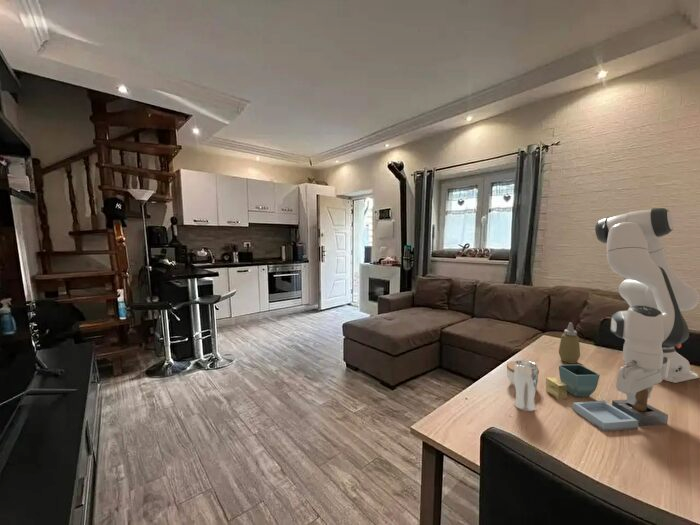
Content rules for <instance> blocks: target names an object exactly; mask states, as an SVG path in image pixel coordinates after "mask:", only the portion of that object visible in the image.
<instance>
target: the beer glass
mask: <svg viewBox="0 0 700 525" xmlns="http://www.w3.org/2000/svg"><path fill="white" fill-rule="evenodd" d="M514 361H515V367H514V382H515V387H514V388H515V398H514V399H515V400H514V406H515V407H516V408H517V409H519V410H521V411H523V412H534V411H535V410H536V406H535V395H536V390H537V388H538V387H537V386H538V382H539V374H538V369H539V368H538V364H537V363H536V362H532V361H530V360H525V359H517V360H514Z"/></svg>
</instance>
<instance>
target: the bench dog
mask: <svg viewBox="0 0 700 525" xmlns="http://www.w3.org/2000/svg"><path fill="white" fill-rule="evenodd" d="M545 391H546V392H547V393H549V394H550V395H552V397H554V398H556V399H557V400H563V399H567V385H566V384H564V383H563V382H561V380H560V379H557V378H556V377H553V376H551V377H550V376H549V377H546V378H545Z"/></svg>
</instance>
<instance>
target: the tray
mask: <svg viewBox="0 0 700 525" xmlns="http://www.w3.org/2000/svg"><path fill="white" fill-rule="evenodd" d="M572 410H573V412H575V411H576V413H577V414H578V415H580V416H581V417H583V418H584V419H586V420H587V421H589V422H590V423H591V424H593V425H594V426H596V427H597V428H598V429H600V430H601V431H602V432H610V431H612V432H613V431H623V430H624V431H625V430H637V429H639V425H638V420H636V419H635V418H633V417H631V416H629V415H628V414H626V413H624V412H623V411H621V410H619V409H617V408H616V407H614V406H612V403H611V404H610V403H609V402H607V401H606V400H593V401H592V400H591V401H579V402H578V401H577V402H576V401H575V402H573V403H572Z"/></svg>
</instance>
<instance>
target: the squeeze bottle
mask: <svg viewBox="0 0 700 525" xmlns="http://www.w3.org/2000/svg"><path fill="white" fill-rule="evenodd" d="M577 333H578V332H577V330H575V329H574V325H573V322H568V326H567V328H565V329H564V331H563V333H562V334H561V336H560V342H559V348H558V354H559V357H560V360H561V361H562V362H563V363H567V364H576V363H578V361H579V359H580V358H581V349H580V337H579V336H578V334H577Z"/></svg>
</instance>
